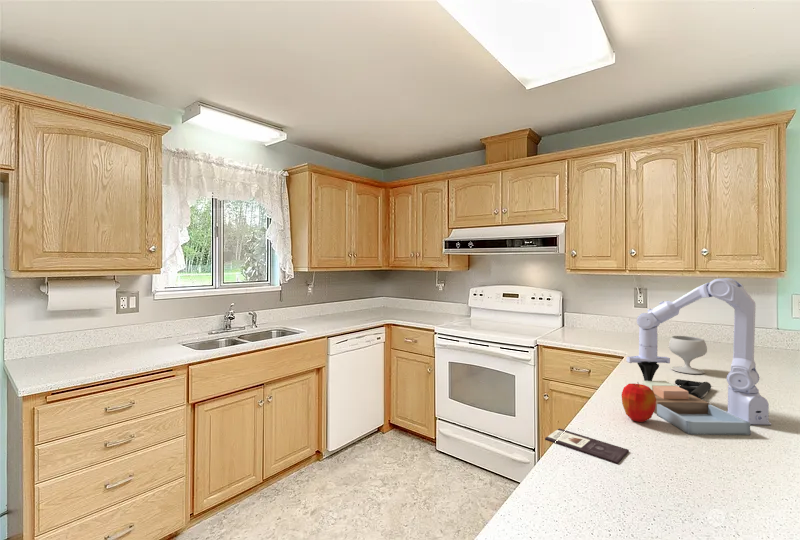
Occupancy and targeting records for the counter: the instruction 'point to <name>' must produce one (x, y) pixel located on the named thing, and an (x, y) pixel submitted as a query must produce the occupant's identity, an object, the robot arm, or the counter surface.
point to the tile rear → (656, 384)
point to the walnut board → (684, 405)
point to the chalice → (687, 352)
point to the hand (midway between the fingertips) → (647, 382)
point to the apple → (638, 402)
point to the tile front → (670, 392)
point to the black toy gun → (694, 387)
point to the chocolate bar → (588, 445)
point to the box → (706, 422)
